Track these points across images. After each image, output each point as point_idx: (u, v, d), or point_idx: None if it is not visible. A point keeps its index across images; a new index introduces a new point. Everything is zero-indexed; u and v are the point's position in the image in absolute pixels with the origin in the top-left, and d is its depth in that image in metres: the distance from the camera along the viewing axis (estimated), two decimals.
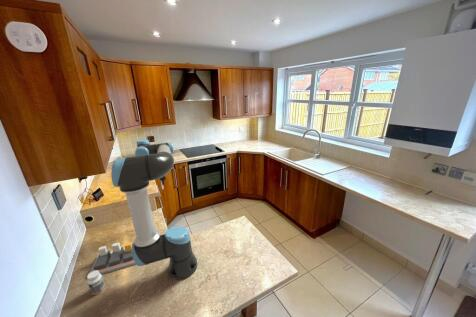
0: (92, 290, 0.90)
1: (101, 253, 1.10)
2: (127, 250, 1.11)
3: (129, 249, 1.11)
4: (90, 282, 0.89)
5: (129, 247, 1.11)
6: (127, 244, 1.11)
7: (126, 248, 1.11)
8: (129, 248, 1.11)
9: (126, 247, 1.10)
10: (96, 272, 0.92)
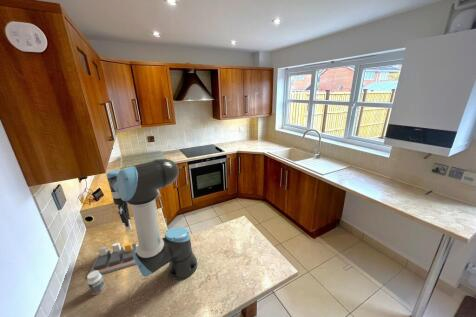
0: (92, 290, 0.90)
1: (101, 253, 1.10)
2: (127, 250, 1.11)
3: (129, 249, 1.11)
4: (90, 282, 0.89)
5: (129, 247, 1.11)
6: (127, 244, 1.11)
7: (126, 248, 1.11)
8: (129, 248, 1.11)
9: (126, 247, 1.10)
10: (96, 272, 0.92)
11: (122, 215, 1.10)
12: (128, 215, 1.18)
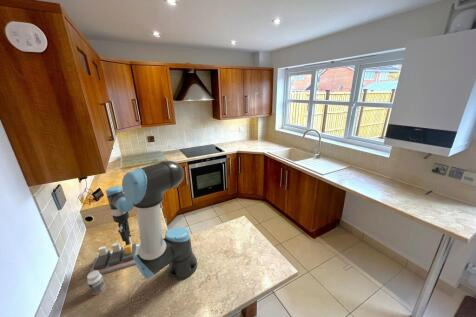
0: (92, 290, 0.90)
1: (101, 253, 1.10)
2: (126, 252, 1.10)
3: (129, 251, 1.10)
4: (90, 282, 0.89)
5: (129, 249, 1.10)
6: (126, 246, 1.10)
7: (126, 250, 1.09)
8: (129, 250, 1.10)
9: (125, 249, 1.09)
10: (96, 272, 0.92)
11: (122, 233, 1.05)
12: (129, 232, 1.13)
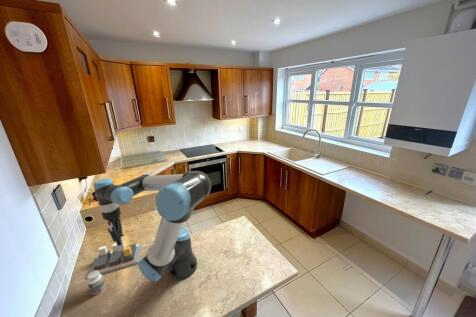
0: (92, 290, 0.90)
1: (101, 253, 1.10)
2: (126, 254, 1.08)
3: (128, 253, 1.08)
4: (90, 282, 0.89)
5: (128, 251, 1.08)
6: (126, 248, 1.08)
7: (125, 252, 1.08)
8: (128, 252, 1.08)
9: (125, 251, 1.07)
10: (96, 272, 0.92)
11: (113, 233, 0.92)
12: (121, 231, 1.00)
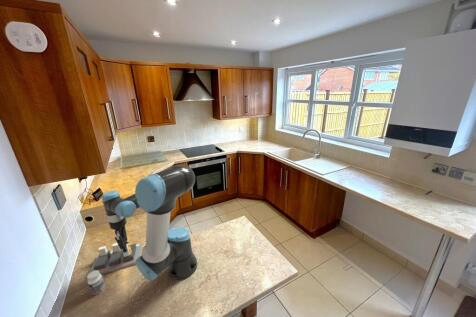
0: (92, 290, 0.90)
1: (101, 253, 1.10)
2: None
3: None
4: (90, 282, 0.89)
5: None
6: None
7: None
8: None
9: None
10: (96, 272, 0.92)
11: (119, 241, 0.99)
12: (126, 239, 1.07)
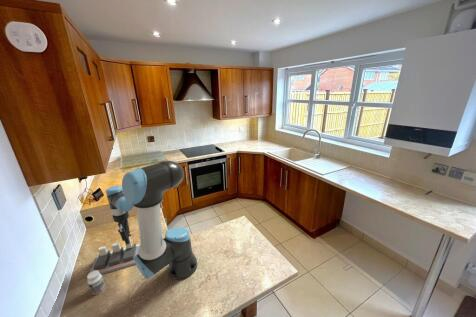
0: (92, 290, 0.90)
1: (101, 253, 1.10)
2: None
3: None
4: (90, 282, 0.89)
5: None
6: None
7: None
8: None
9: None
10: (96, 272, 0.92)
11: (122, 233, 1.05)
12: (128, 232, 1.13)
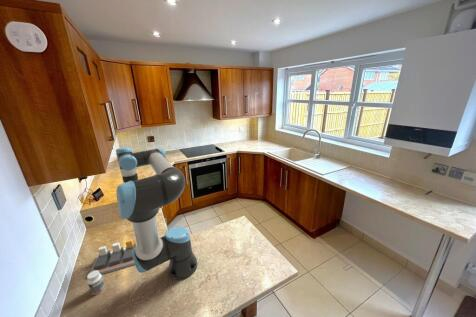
0: (92, 290, 0.90)
1: (101, 253, 1.10)
2: (128, 246, 1.14)
3: (130, 245, 1.15)
4: (90, 282, 0.89)
5: (130, 243, 1.14)
6: (128, 240, 1.14)
7: (127, 244, 1.14)
8: (130, 244, 1.14)
9: (127, 243, 1.14)
10: (96, 272, 0.92)
11: None
12: None
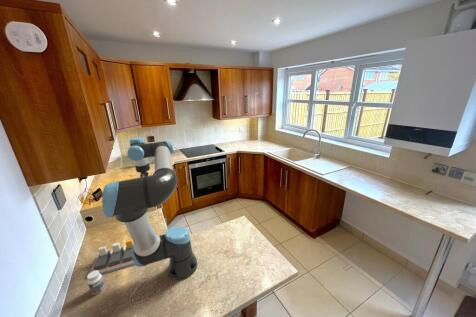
0: (92, 290, 0.90)
1: (101, 253, 1.10)
2: (128, 246, 1.14)
3: (130, 245, 1.15)
4: (90, 282, 0.89)
5: (130, 243, 1.14)
6: (128, 240, 1.14)
7: (127, 244, 1.14)
8: (130, 244, 1.14)
9: (127, 243, 1.14)
10: (96, 272, 0.92)
11: None
12: None
